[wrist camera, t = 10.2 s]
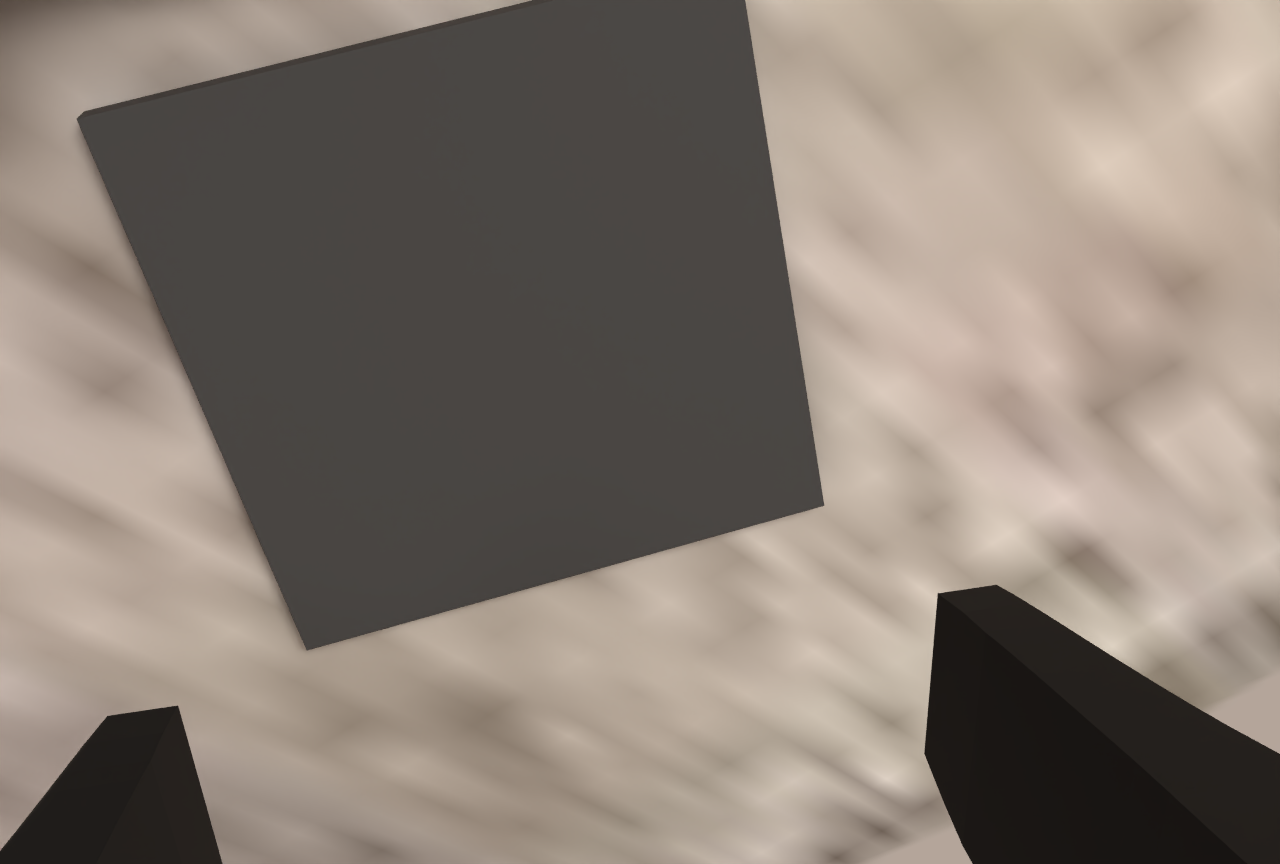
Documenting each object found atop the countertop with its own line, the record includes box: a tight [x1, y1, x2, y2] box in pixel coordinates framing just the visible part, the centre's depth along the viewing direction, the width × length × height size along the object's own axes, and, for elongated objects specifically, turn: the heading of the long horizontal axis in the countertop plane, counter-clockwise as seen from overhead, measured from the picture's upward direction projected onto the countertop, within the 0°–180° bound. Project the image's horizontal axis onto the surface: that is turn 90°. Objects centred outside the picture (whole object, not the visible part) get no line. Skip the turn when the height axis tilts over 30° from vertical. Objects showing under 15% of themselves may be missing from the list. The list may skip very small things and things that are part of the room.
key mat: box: [77, 0, 824, 650], centre depth 20 cm, size 10×10×1 cm
